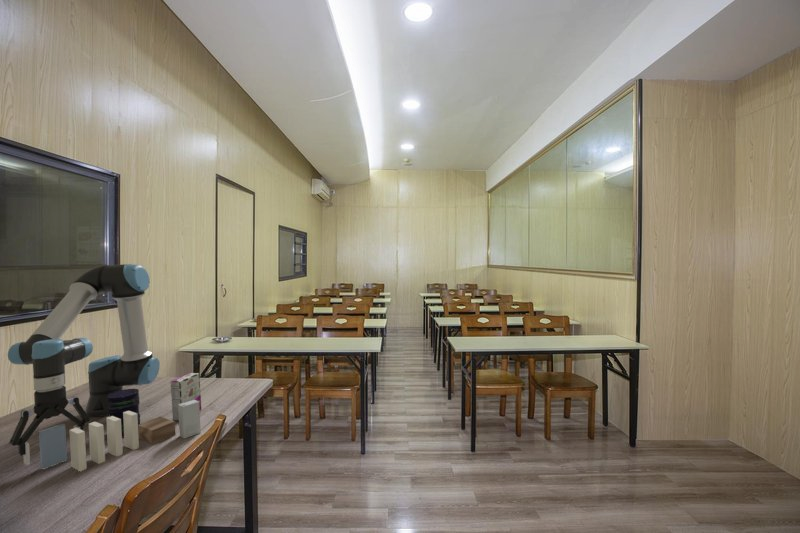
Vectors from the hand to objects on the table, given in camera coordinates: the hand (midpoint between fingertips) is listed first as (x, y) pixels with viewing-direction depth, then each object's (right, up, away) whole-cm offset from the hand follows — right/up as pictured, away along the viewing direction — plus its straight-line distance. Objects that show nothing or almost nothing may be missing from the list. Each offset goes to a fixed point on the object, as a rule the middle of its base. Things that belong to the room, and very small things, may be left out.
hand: (53, 454), depth 122 cm
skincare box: (+34, -2, +19) cm, 39 cm away
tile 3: (+15, -3, +6) cm, 17 cm away
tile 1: (+10, -3, -2) cm, 11 cm away
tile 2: (+13, -3, +2) cm, 13 cm away
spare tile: (0, -3, 0) cm, 3 cm away
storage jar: (+6, -3, +23) cm, 24 cm away
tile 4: (+18, -3, +11) cm, 21 cm away
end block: (+22, -2, +18) cm, 28 cm away
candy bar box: (+23, -2, +37) cm, 43 cm away
